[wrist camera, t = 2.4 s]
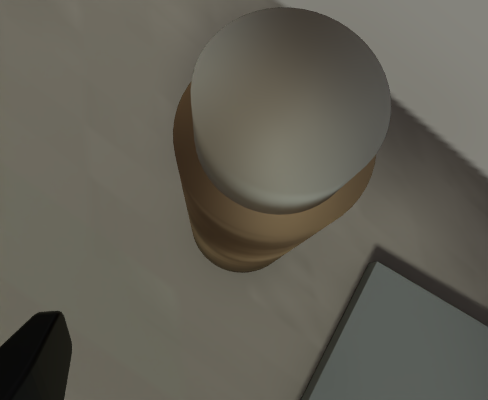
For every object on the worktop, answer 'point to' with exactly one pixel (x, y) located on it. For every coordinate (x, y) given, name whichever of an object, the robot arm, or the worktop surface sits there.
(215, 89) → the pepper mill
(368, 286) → the slate trivet
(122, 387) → the worktop surface
